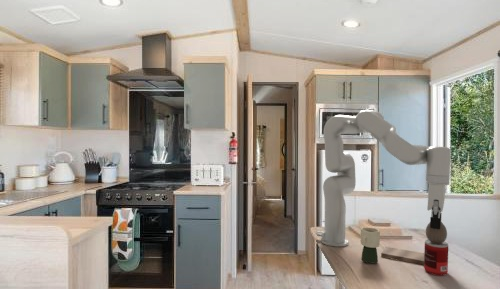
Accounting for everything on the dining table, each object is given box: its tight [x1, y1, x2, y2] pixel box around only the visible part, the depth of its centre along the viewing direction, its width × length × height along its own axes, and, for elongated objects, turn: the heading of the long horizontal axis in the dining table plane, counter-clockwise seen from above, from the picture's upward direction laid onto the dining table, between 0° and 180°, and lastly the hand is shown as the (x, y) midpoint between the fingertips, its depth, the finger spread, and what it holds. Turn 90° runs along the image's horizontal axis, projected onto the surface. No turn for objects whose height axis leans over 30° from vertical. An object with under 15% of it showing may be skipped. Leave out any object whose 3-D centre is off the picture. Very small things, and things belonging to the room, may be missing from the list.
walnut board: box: [380, 246, 424, 266], centre depth 136 cm, size 16×10×2 cm, turn 58°
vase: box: [425, 221, 448, 244], centre depth 121 cm, size 7×7×9 cm
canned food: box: [423, 238, 449, 277], centre depth 121 cm, size 8×8×11 cm
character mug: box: [359, 226, 381, 264], centre depth 130 cm, size 11×7×13 cm, turn 133°
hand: (435, 225), depth 121 cm, fingers open, 9 cm apart
